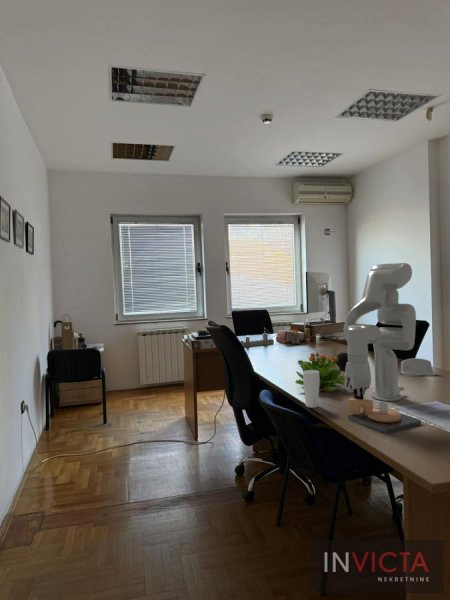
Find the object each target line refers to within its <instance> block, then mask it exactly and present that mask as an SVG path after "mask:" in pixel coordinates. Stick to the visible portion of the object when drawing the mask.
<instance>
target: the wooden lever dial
mask: <svg viewBox="0 0 450 600" xmlns="http://www.w3.org/2000/svg"><path fill="white" fill-rule="evenodd" d="M373 404H374V403H373V400H371V399H364V398H363V399H354V398H351V397H348V415H352V414H356V415H360V406H364V415H365V416H367V417H368V418H369V419H371V420H374V421H379V422H397V421H400V420H401V414H402V413H401V412H398V411H396V410H392V409H389V407H388V406H389V405H388V402H386V401H380V402H379V403H378V404H379V408H380V409H377V408H373Z"/></svg>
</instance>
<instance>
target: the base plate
mask: <svg viewBox="0 0 450 600" xmlns="http://www.w3.org/2000/svg"><path fill="white" fill-rule="evenodd" d="M376 409H380V407H377V408H376ZM400 414H401V420H400V421H397V422H379V421H374V420H371V419H369V418H368V417H367V416H365V415H364V406H360V415H356V414H348V415H347V419H348V420H349V421H352V422H354V423H358V424H359V425H362V426H365V427H367V428H370V429H372V430H375V431H377V432H380V433H382V434H383V433H384V434H385V435H388V434H391V433H395V432H399V431H402V430H405V429H410V428H413V427H417V426H419V425H422V419H420V418H419V419H418V418H416V417H412V416H410V415H407V414H403V413H400Z"/></svg>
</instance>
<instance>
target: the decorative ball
mask: <svg viewBox="0 0 450 600" xmlns="http://www.w3.org/2000/svg"><path fill="white" fill-rule="evenodd" d="M336 357H337V358H338V361H337V362H336V364H335V365H336V366H337V367H338V368H339V369H340V370H345V368H346V363H347V362H348V352H340V353H338V354H337V356H336Z"/></svg>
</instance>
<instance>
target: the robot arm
mask: <svg viewBox="0 0 450 600" xmlns="http://www.w3.org/2000/svg"><path fill="white" fill-rule="evenodd" d="M412 276H413V269H412V267H411V265H410V264H409V263H407V262H398V263H381V264H380V263H379V264H376V265H373V266H372V267H371V268H370V272H368V274H367V276H366V281H365V284H364V288H363V292H362V297H361V300H360V301H359V302H358V303H356V304H355V305H354V306H353V307H352V308H351V310H350V311H349V312H348V313H347V315H346V317H345V322H344V327H343V330H342V331H343V332H342V335H343V337H344V339H345V341H347V353H348V362H347V363H346V368H345V369H344V370H345V371H344V378H345V385H344V387H345V388H347V392H348V393H352V394H353V397H354V398H353V399H363V400H364V396H365V394H366V391H367V390H368V389H369V388H370V386H371V383H372V373H371V368H370V367H371V366H370V361H369V357H370V355H369V344H371V345H373V351H374V352H373V353H374V391H373V392H371V397H372V398H373V399H375V400H378V401H382V402H386V401H387V402H397V401H400V400H402V398H403V396H402V394H400V392H404V391H405V387H404V386H403V385H402V386H399V383H398V381H399V378H398V377H399V376H398V373H399V372H398V358H397V355H396V354H395V351H393V350H399V351H410V350H412V349H413V348H414V345H415V343H416V342H415V339H416V325H417V322H416V321H417V314H416V313H417V312H416V308H415V307H414V306H413V305H412V304H410V303H399V298H400V297H399V295H400V294H399V291H398V290H400V289H401V288H403V287H404V286H406V285H407V284H408V283H409V282H410V281H411V279H412ZM374 311H377V313H376V314H377V315H376V316H377V321H378V323H380V324H382V325H391V326H402V327H388V326H387V327H385V326H384V327H383V326H382V327H378V326H377V325H375V324H364V323H357V321H358V320H359V319H360V318H361V317H362V316H365V315H367V314H369V313H372V312H374Z"/></svg>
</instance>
